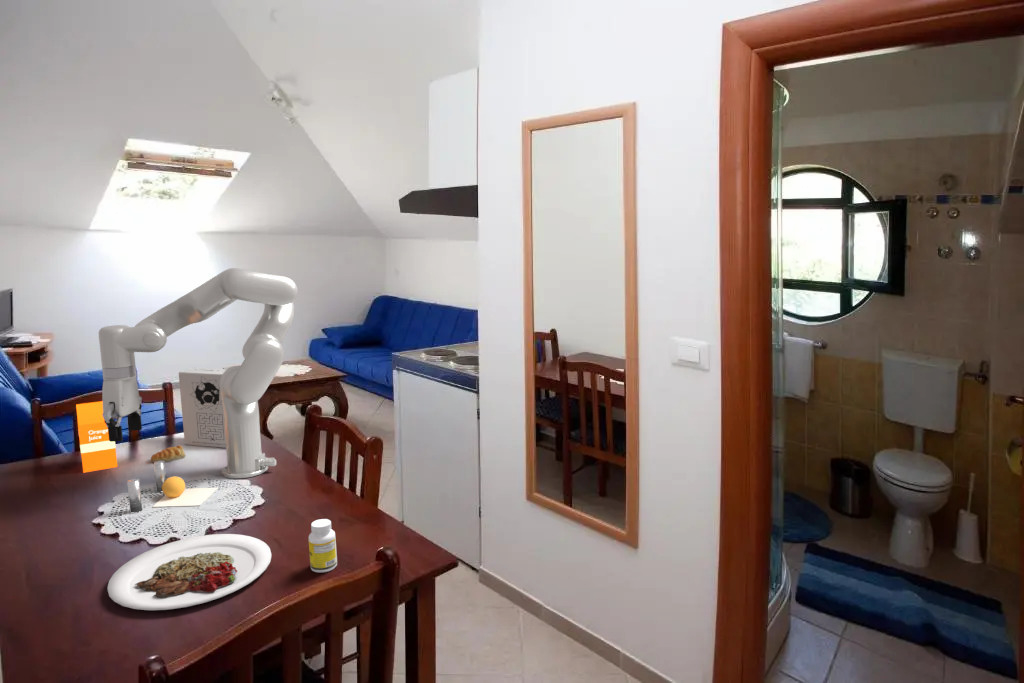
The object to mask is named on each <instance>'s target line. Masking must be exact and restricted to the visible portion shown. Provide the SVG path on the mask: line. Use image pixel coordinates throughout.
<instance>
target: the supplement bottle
mask: <svg viewBox="0 0 1024 683" xmlns="http://www.w3.org/2000/svg"><path fill="white" fill-rule="evenodd" d="M310 528H311V529H310V531H311V532H310V533H309V535H308V549H309V550H308V553H309V566H310V569H311V571H312V572H315V573H321V574H322V573H327V572H330V571H332V570H334V569H335V568H336V567H337V566H338V554H337V542H336V540H337V539H336V532H335V530H333V529H332V520H330V519H328V518H321V519H316V520H314V521H312V522H311V525H310Z"/></svg>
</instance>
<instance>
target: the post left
mask: <svg viewBox="0 0 1024 683" xmlns="http://www.w3.org/2000/svg"><path fill="white" fill-rule="evenodd" d="M126 483H127V490H128V491H127V493H128V500H129V501H128V502H129V511H131V512H137V513H139V511H140V512H142V511H143V503H142V495H141V483H140V479H139V478H132V479H129V480H127V482H126ZM131 512H130V513H131Z"/></svg>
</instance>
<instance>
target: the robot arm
mask: <svg viewBox="0 0 1024 683" xmlns="http://www.w3.org/2000/svg"><path fill="white" fill-rule="evenodd" d="M298 294H299V293H298V286H297V284H296V282H295V281H294V280H293V279H292V278H290V277H287V276H284V275H279V274H271V273H265V272H260V271H259V272H258V271H252V270H249V269H243V268H239V267H231V268H228V269H225V270H223V271H221V272H219V273H218V274H216V275H215V276H213V277H211V278H210V279H209V280H206V281H205V282H203V283H202V284H201V285H198V287H196V288H194V289H193V290H191V291H190V292H188V293H186V294H184V295H183V296H181V297H179V298H177V299H176V300H174V301H172V302H171V303H169V304H167V305H165V306H163V307H161V308H160V309H158V310H157V311H155V312H153V313H151V314H150V315H148V316H147V317H144V319H142V320H141V321H138V323H136V324H135V326H131V327H130V326H128V325H124V324H123V325H122V324H121V325H107V326H104V327H101V328H100V329H99V330H98V342H99V351H100V359H101V360H100V361H101V370H102V380H103V381H102V388H101V389H102V391H101V392H102V394H101V396H102V398H101V401H103V414H102V416H103V418H104V420H105V421H104V422H105V423H106V427H108V435H109V441H110V442H114V441H115V442H122V441H123V440H124V438H123V429H122V427H123V426H122V425H121V422H122V418H124V417H127V422H128V430H129V431H141V430H142V429H143V426H142V416H141V415H142V410H141V409H142V407H143V406H142V401H143V397H142V396H140V393H139V392H140V391H139V386H138V381H137V375H138V374H137V368H136V356H135V353H156V352H159V351H160V350H162V349H163V348H164V347H165V346H166V344H167V341H168V338H169V336H171V335H173V334H174V333H176V332H177V331H179V330H181V329H183V328H185V327H188V326H190V325H193V324H197V323H201V322H203V321H206V320H208V319H209V318H212V316H213V317H214V315H215V314H217V313H218V312H220V311H221V310H223V309H224V308H226V307H228V306H229V305H231V304H233V303H235V302H236V301H237V300H239V301H245V302H251V303H256V304H257V303H258V304H263V305H264V310H263V313H262V315H261V316H260V319H259V321H258V323H257V324H256V326H255V327H254V329H253V331H252V332H251V333H250V335H249V337H248V338H247V340H246V341H245V342H244V344H243V347H242V350H241V351H242V356H243V358H244V360H243V362H242V363H241V365H233V366H230V367H228V368H226V369H227V370H226V371H225V372H224V373H223V374H222V376H221V379H220V392H221V398H222V404H223V413H224V426H225V439H226V448H225V450H226V462H227V465H226V466H224V467H223V468H222V470H221V473H222V476H223V477H225V478H229V479H246V478H252V477H256V476H259V475H262V474H263V473H266V472H267V471H268V469H269V467H275V466H277V459H275V457H267V456H266V454H265V453H266V452H263V451H262V440H261V425H260V410H259V409H260V407H259V400H260V399H261V398H262V397H263V396H264V394H265V392H266V391H267V389H268V387H269V386H270V385H271V383H272V381H273V380H274V378H275V377H276V375H277V373H278V371H279V370H280V368H281V367H282V364H283V361H284V358H285V352H284V351H285V350H284V347H283V345H282V342H283V341H284V339H285V337H286V336H287V333H288V332H289V330H290V329H291V326H292V324H293V321H294V318H295V317H294V316H295V305H294V302H295V300H296V299H297V297H298Z"/></svg>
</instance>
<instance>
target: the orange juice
mask: <svg viewBox="0 0 1024 683" xmlns="http://www.w3.org/2000/svg"><path fill="white" fill-rule="evenodd" d="M75 405H76V406H75V408H76V416H77V428H78V429H77V431H78V437H79V439H78V440H79V448H80V456H81V463H82V465H81V466H82V473H83V474H84V473H90V472H95V471H102V470H107V469H114V468H117V467H118V459H117V449H116V448H117V447H116V441H114V442H110V441H109V435H108V427H106V423H105V422H104V421H105V420H104V418H103V416H102V414H103V401H102V400H101V401H93V402H83V403H78V404H77V403H76V404H75Z"/></svg>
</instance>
